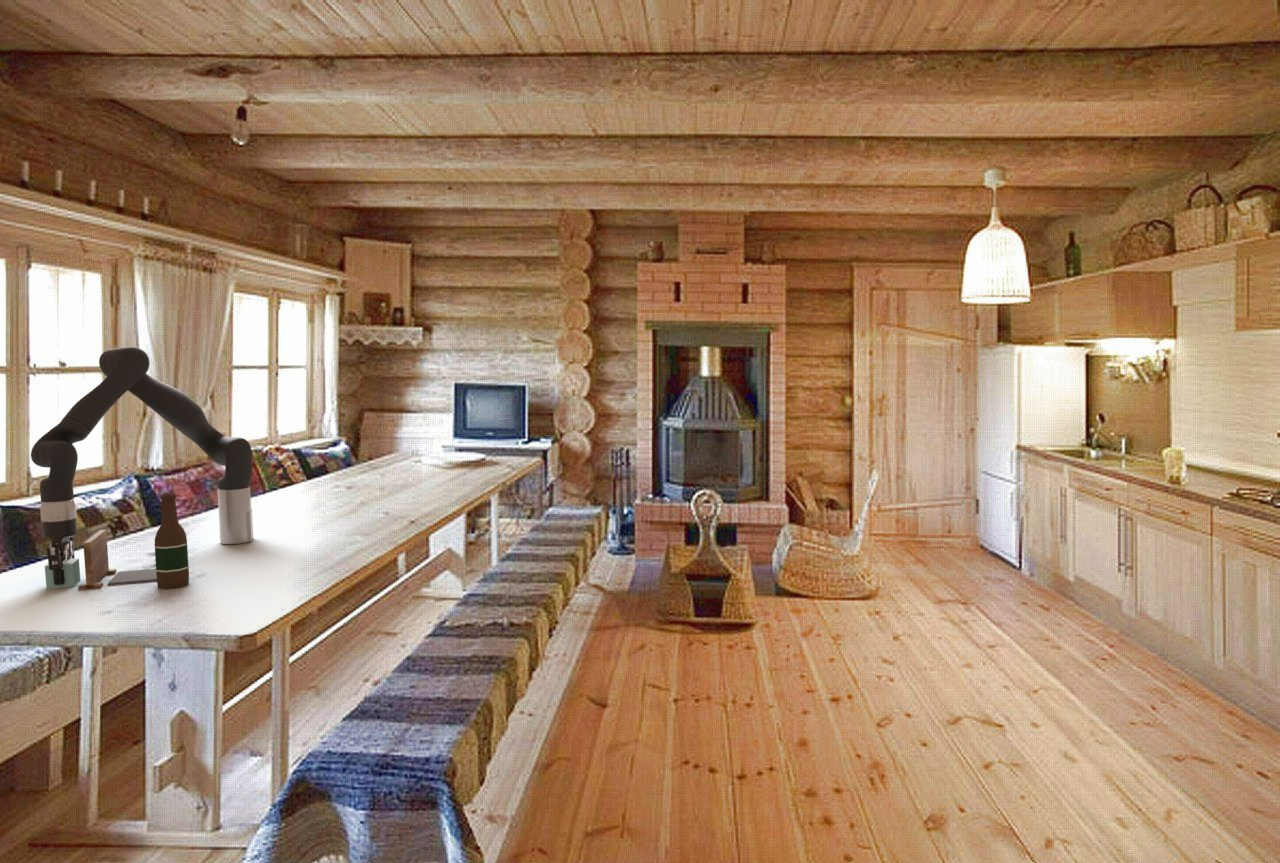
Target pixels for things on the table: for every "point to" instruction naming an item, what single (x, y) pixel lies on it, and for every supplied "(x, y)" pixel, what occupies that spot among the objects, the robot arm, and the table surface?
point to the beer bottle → (171, 548)
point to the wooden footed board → (96, 561)
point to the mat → (134, 577)
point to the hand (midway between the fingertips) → (63, 580)
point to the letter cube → (69, 573)
